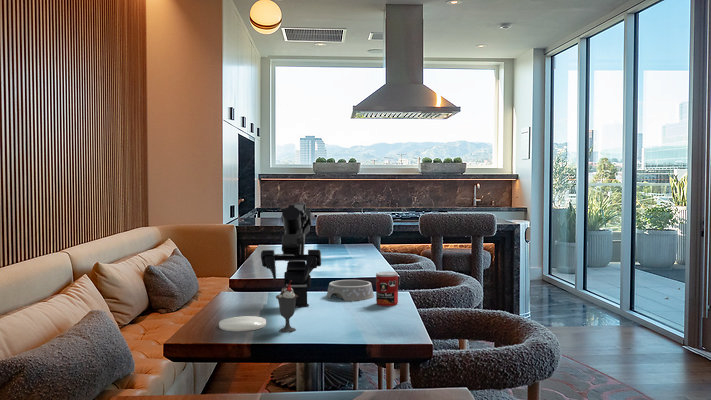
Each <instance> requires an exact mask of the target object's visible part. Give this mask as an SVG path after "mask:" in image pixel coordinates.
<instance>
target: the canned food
mask: <svg viewBox="0 0 711 400" xmlns="http://www.w3.org/2000/svg"><path fill="white" fill-rule="evenodd" d="M375 284H376V285H375V290H376V291H375V294H376V295H375V297H376V299H375V303H376V305H378V306H380V307H392V306H396V305H398V302H399V274H398V272H396V271H378V272H376V275H375Z"/></svg>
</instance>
